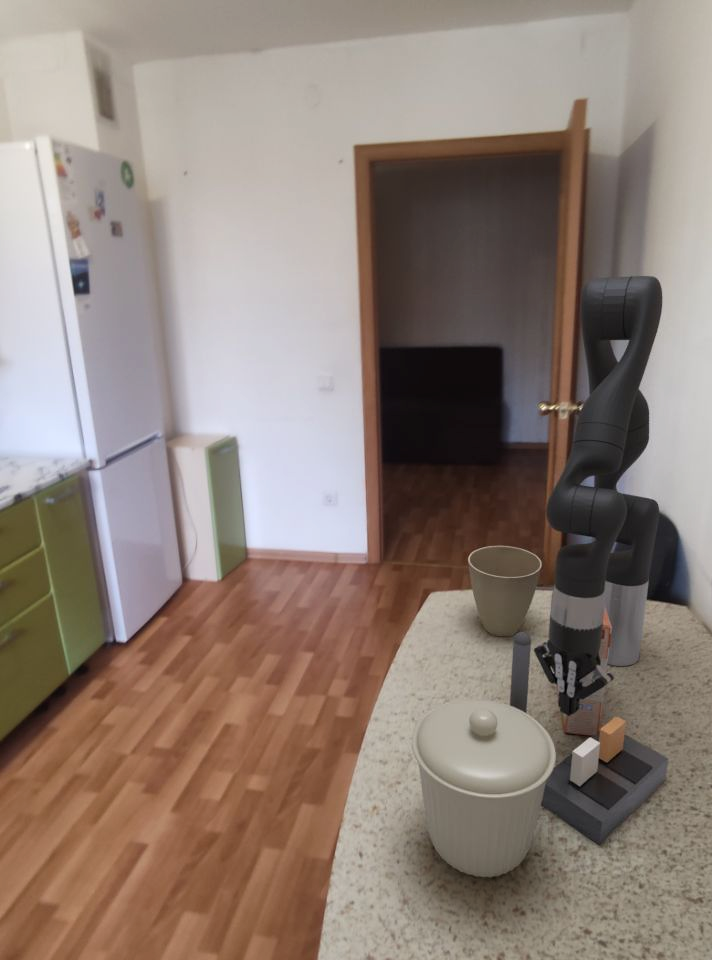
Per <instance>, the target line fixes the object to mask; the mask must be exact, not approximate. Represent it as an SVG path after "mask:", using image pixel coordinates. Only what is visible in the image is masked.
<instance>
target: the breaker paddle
mask: <svg viewBox="0 0 712 960" xmlns="http://www.w3.org/2000/svg"><path fill="white" fill-rule="evenodd" d="M626 726H627V721H626V720H625V719H623V718H622V717H618V716H617V715H616V716H614V717H613V718H612V719H611V720H610V721H609V722H607V723H606V724H605V725H603V726H602V727H600V728H599V731H600V735H599V743H600V750H599V758H600V759H601V760H603V761H605V762H606V763H607V762H608V761H610V760H611V759H612V758H613V757H614V756H615V755H617V754H618V753H619V752H620V751H621V750H622V749H623V743H624V735H626V728H627V727H626Z"/></svg>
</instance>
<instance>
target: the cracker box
mask: <svg viewBox="0 0 712 960" xmlns="http://www.w3.org/2000/svg"><path fill="white" fill-rule="evenodd" d="M611 630H612V627H611V624H610V621H609V618H608V615H607V612H606V609H604V618H603V628H602V638H601V645H600V649H599V656H600V659H601V664H600V666H601V668H602V669H603V670H604V672H605V673H606V674H607V668H608V664H607V662H608V654H609V646H610V638H611ZM593 675H594V672H593V671H592V672H591V673H590V674H588V675H587V677H586V679H585V680H584V685H583V686H588V685H589V684H591V683H592V676H593ZM556 688H557V687H556ZM605 688H606V686H604V687H603V688H601V689H600V690H598V691H596V692H595V693H593V694H591V695H590V696H588V697H586V698H585V699H583V700H582V699H580V704H579V709H578V711H576V712H575V713H574V714H572V715H570V716H568V715H566V714H564V713H562V712H561V711H560V713H561V720H562V727H563V733H564V734H572V735H578V736H579V735H581V736H589V737H593V736H594V735H595V734H596V733H598V732H599V731H600V729H601V727H600V725H601V719H602V710H603V702H604V694H605ZM557 693H558V695H557V697H559V690H558V688H557Z"/></svg>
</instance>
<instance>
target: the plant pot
mask: <svg viewBox="0 0 712 960" xmlns="http://www.w3.org/2000/svg"><path fill="white" fill-rule="evenodd" d="M467 563H468V571H469V578H470V582H471V584H470V585H471V589H472V590H471V591H472V593H473V598H474V601H475V606H476V609H477V611H478V612H477V613H478V614H479V618H480V621H481V623H482V626H483V628H484V630H485V631H486V632H488V634H491V635H494V636H498V637H511V636H513V635H514V636H515V635H516V634H517V633H519V632H518V631H519V630H520V628H521V626H522V624H523V623H524V620H525V618H526V616H527V614H528V611H529V609H530V606H531V604H532V601H533V599H534V596H535V594H536V589H537V586H538V582H539V578H540V574H541V571H542V570H541V569H542V566H543V565H542V563H543V562H542V560H541V558H539V557H538V556H537V555H536V554H535V553H533V552H531V551H528V550H527V549H523V548H520V547H517V546H516V547H515V546H510V545H509V546H508V545H491V546H489V545H488V546H484V547H481V548H480V547H479V548H478V549H476V550H473V551H472V552H470V554H469V556H468V558H467Z"/></svg>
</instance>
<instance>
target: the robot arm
mask: <svg viewBox="0 0 712 960" xmlns="http://www.w3.org/2000/svg"><path fill="white" fill-rule="evenodd" d="M579 303H580V304H579V305H580V306H579V309H580V311H579V317H580V318H579V319H580V327H581V335H582V342H583V348H584V354H585V355H584V356H585V360H586V361H585V362H586V368H587V369H586V370H587V375H588V376H587V377H588V392H589V393H588V394H589V396H588V397H587V399H586V400H585V401H584V403H583V405H582V406H581V409H580V411H579V413H578V417H577V420H576V425H575V430H574V435H573V440H572V446H571V449H570V454H569V456H568V458H567V462H566V464H565V467H564V468H563V471H562V473H561V475H560V477H559V479H558V480H557V482H556V483H555V486H554V488H553V490H552V492H551V493H550V495H549V498H548V500H547V503H546V508H545V515H546V519H547V522H548V524H549V526H550V527H551V528H552V529H553V530H555V531H556V532H560V533H565V534H573V535H575V536H577V535H578V536H583V537H590V538H594V539H595V540H594V541H592V542H588V543H577V544H576V543H575V544H568V545H564V546H563V547H560V549H559V550H558V552H557V554H556V557H555V558H556V560H555V570H554V580H553V581H554V584H553V590H552V593H551V600H550V611H549V612H550V614H549V624H548V625H549V627H548V640H547V641H545V642H542V643H540V644H539V645H538V646H536V647H534V648H533V652H534V654H535V656H536V658H537V660H538V662H539V664H540V666H541V669H542V670H543V672H544V675H545V676H546V678H547V681H548V682H549V683H550V684H552V685H554V684H555V685H556V688H558V689H557V691H558V690H559V696H558V702H557V704H558V707H559V710H560V713H561V712H562V713H564V714H566V715H568V716H570V715H572V714H574V713H575V712H576V711H578V709H579V704H580V699H582V700H583V699H585V698H586V697H588V696H590V695H591V694H593V693H595V692H596V691H598V690H600V689H601V688H603V687H604V686H605V687H606V686H607V685H609V684H610V683H611V682H612V681H614V679H615V678H614V675H613V673H611V672H606V673H605V672H604V670H603V669H602V668H601V666H600V664H601V659H600V656H599V649H600V645H601V638H602V628H603V618H604V609H606V612H607V615H608V618H609V621H610V624H611V627H612V630H611V638H610V646H609V654H608V662H607V665H611V666H617V667H618V666H619V667H626V666H632V665H634V664H636V663H637V662H638V661H639V659H640V653H641V647H642V646H641V645H642V638H643V631H644V622H645V615H646V604H647V598H648V589H649V583H650V582H649V581H650V580H649V579H650V572H651V566H652V560H653V554H654V547H655V543H656V542H655V541H656V537H657V532H658V527H659V521H660V506H659V504H658V501H656V500H655V499H652V498H649V497H644V496H639V495H634V494H629V493H622V492H619V491H618V489H617V483H618V482H619V481H620V479H621V478H622V476H623V475H624V474H625V472H627V471H628V469H629V468H631V467H632V466H633V465H634V463H636V461H638V459H639V458H640V457H641V455H642V454H643V453H644V452H645V450H646V449H647V446H648V445H649V441H650V409H649V404H648V401H647V399H646V397H645V396H644V394H643V392H642V391H641V389H640V386H641V382H642V380H643V378H644V375H645V370H646V368H647V365H648V362H649V359H650V357H651V356H650V355H651V352H652V349H653V346H654V342H655V340H656V337H657V333H658V329H659V326H660V321H661V316H662V311H663V289H662V285H661V282H660V280H659V279H658V278H657V277H656V276H651V275H650V276H649V275H633V276H612V277H611V276H609V277H607V276H606V277H598V278H592V279H590V280H588V281H587V282H586V283H585V285H584V286H583V289H582V291H581V296H580V302H579ZM611 341H628V342H627V346H626V348H625V351H624V352H623V354H622V355H621V358H620V359H619V361H618V359H617V357H616V355H615V352H614V350H613V346H612V343H611ZM589 477H593V478H594V479H593V480H594V481H593V483H594V484H593V486H589V485H581V484H582V483H583V482H584V481H585V480H586V479H588V478H589ZM615 543H618V544H622V545H627V546H631V549H628V550H624V551H616V552H615V551H614V552H612V551H613V548H614V546H615ZM592 671H593V672H594V675H593V676H592V683H591V684H589V685H588V686H583V685H584V680H585V679H586V677H587V675H588V674H590V673H591V672H592ZM605 687H604V688H605Z"/></svg>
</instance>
